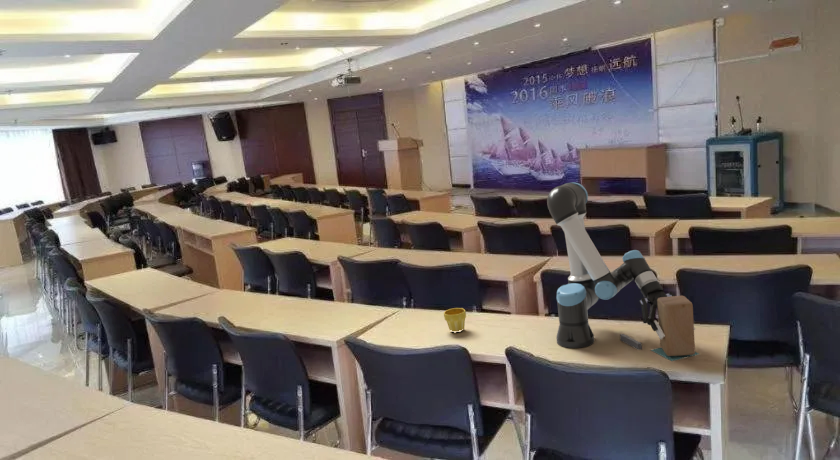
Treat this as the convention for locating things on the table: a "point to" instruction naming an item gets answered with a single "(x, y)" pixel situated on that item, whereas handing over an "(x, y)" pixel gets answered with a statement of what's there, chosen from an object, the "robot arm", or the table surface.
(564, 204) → the robot arm
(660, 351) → the mat
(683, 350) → the wooden block
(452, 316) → the plant pot
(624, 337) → the chute
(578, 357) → the table surface
